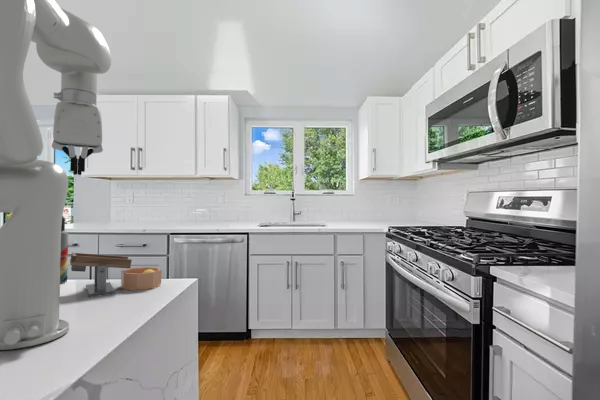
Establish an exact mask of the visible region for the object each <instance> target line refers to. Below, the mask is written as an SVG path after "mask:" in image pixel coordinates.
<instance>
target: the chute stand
mask: <svg viewBox="0 0 600 400" xmlns="http://www.w3.org/2000/svg"><path fill="white" fill-rule="evenodd" d="M106 266H107V265H98V267H95V266H94V283H91V284H85V289H86V293H87V297H88V298H92V297H91V296H93V297H100V296H99V295H101V296H108V295H107V294H110V295H115V294H116V289H115V288H114V287H113V285H112V284H111V282H110V281H107V267H106Z"/></svg>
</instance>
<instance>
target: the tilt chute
mask: <svg viewBox="0 0 600 400" xmlns="http://www.w3.org/2000/svg"><path fill="white" fill-rule="evenodd" d="M69 262H70V263H69V264H70V266H71V267H70V269H71V272H81V273H82V272H86V268H87V267H94V268H95V267H98V265H107V266H106V268H114V269H115V268H116V269H131V265H132V258H131V259H130V258H129V256H123V255H122V256H121V255H110V254H109V255H108V254H96V253H83V252H71V255H70V259H69Z"/></svg>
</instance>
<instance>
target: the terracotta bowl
mask: <svg viewBox="0 0 600 400" xmlns="http://www.w3.org/2000/svg"><path fill="white" fill-rule="evenodd" d="M148 269H151V270H154V271H155V272H150V273H143V272H144V271H145V270H148ZM120 274H121V275H120V281H121V282H120V284H121V287H120V288H121V289H122V290H124V289H125V291H143V289H146V290H152V289H155V287H156V288H158V286H159V287H161V284H162V269H160V268H159V267H147V266H145V267H144V266H143V267H142V266H141V267H134V268H133V267H132V268H131V267H130V268H126V269H123V270H121V273H120ZM151 288H152V289H151Z"/></svg>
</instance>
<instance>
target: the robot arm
mask: <svg viewBox="0 0 600 400" xmlns="http://www.w3.org/2000/svg"><path fill="white" fill-rule="evenodd" d="M31 42H33V43H35V49H36V53H37V55H38V57H39V58H40V60H41V61H42V63H43V64H44V65H46V67H48V68H49V69H52V70H53V71H56V72H58V73H60V74H61V76H60V77H61V80H60V83H61V85H60V91H59V92H53V99H57V100H59V101H58V102H57V103H56V106H55V108H54V109H55V110H54V115H53V129H52V131H53V132H52V135H53V136H52V137H53V141H52V144H51V148H52V149H54V150H57V151H61V152H63V153H64V154H65V155H67V156H68V157H69V158H70V169H69V171H70V172H73V175H74V176H75V175H78V176H81V175H82V173H84V172H85V171H86V168H85V167H86V159H87V158H88V157H90V156H91V155H92V154H99V153H103V151H104V149H103V146H102V143H103V124H102V123H103V122H102V113H101V108H100V107H97V93H98V91H97V90H98V89H97V85H98V84H97V83H98V74H101V75H102V74H105V73H108V72H109V70H110V68H111V65H112V54H111V51H110V48H109V46H108V43H107V42H106V40H105V38H104V36H103V34H102V33H101V32H100V30H99V29H98V28H96V27H95V26H94V25H93V24H91V23H89V22H88V21H86V20H84V19H82V18H80V17H79V16H77V15H75V14H73V13H71V12H70V11H68V10H66V9H64V8H62V7H61V6H59V4H58V3H57V2H56V1H55V0H0V213H5V214H11V215H10V217H9V218H7V220H6V221H5V222H4V223H3V224H2V225H1V226H0V351H6V350H7V351H8V350H9V351H10V350H16V349H24V348H29V347H34V346H37V345H41V344H45V343H47V342H51V341H54V340H56V339H58V338H61V337H62V336H64V335H65V334H66V333H68V331H69V330H70V329H69V328H70V323H69V322H68V321H67V320H65V319H60V301H61V300H60V298H61V297H60V291H61V284H60V257H61V225H62V216H64V209H65V203H66V199H67V196H68V189H69V179H68V175H67V172H66V171H65V170H64V169H63V168H62V167H61V166H59V165H58V164H56V163H54V162H52V161H48V160H43V159H38V158H39V157H41V155H42V153H43V149H44V144H43V138H42V134H41V129H40V127H39V125H38V124H39V123H38V121H37V118H36V115H35V112H34V110H33V107H32V104H31V101H30V99H29V95H28V91H27V89H26V84H25V82H24V68H25V62H26V59H27V56H28V52H29V48H30V45H31ZM75 147H77V148H81V151H80V155H79V156H78V157H77V154H76V152H75V151H76V150H75Z"/></svg>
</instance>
